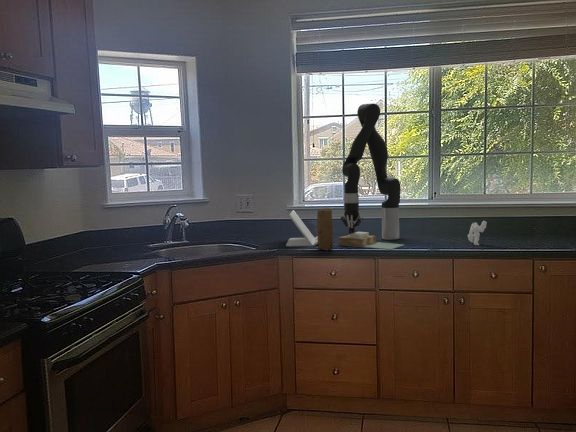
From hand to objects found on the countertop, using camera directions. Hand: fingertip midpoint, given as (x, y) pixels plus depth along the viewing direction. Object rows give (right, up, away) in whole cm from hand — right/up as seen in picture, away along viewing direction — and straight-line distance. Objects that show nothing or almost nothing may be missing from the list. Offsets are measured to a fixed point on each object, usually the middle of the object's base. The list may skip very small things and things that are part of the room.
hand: (351, 234), depth 273 cm
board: (+3, -5, -2) cm, 6 cm away
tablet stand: (-25, -5, +11) cm, 27 cm away
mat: (+15, -5, -10) cm, 19 cm away
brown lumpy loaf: (-15, -7, -12) cm, 20 cm away
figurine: (+61, -4, -12) cm, 62 cm away
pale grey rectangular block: (+3, -1, -3) cm, 5 cm away
